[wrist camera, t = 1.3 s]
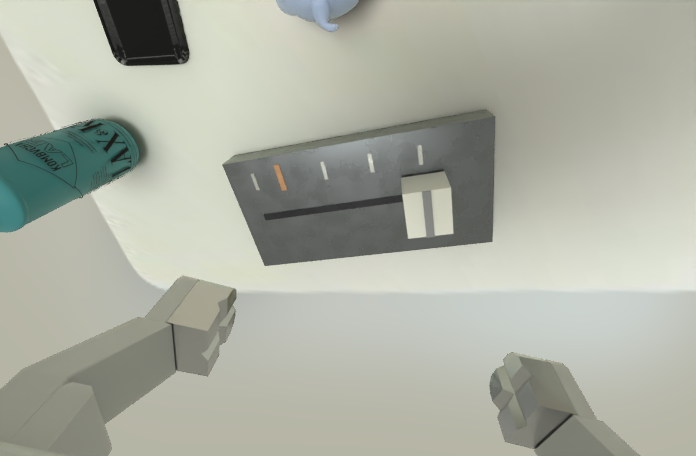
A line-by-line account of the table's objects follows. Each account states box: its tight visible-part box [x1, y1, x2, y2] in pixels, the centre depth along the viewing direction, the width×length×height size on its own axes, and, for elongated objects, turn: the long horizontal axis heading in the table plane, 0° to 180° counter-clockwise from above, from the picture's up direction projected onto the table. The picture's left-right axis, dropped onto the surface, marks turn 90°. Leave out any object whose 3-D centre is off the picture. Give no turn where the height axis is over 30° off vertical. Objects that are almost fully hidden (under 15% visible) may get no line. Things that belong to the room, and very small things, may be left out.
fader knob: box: [401, 171, 453, 239], centre depth 32 cm, size 4×5×4 cm
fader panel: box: [223, 110, 495, 266], centre depth 37 cm, size 28×14×3 cm, turn 102°
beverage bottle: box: [0, 119, 139, 232], centre depth 30 cm, size 6×7×20 cm
